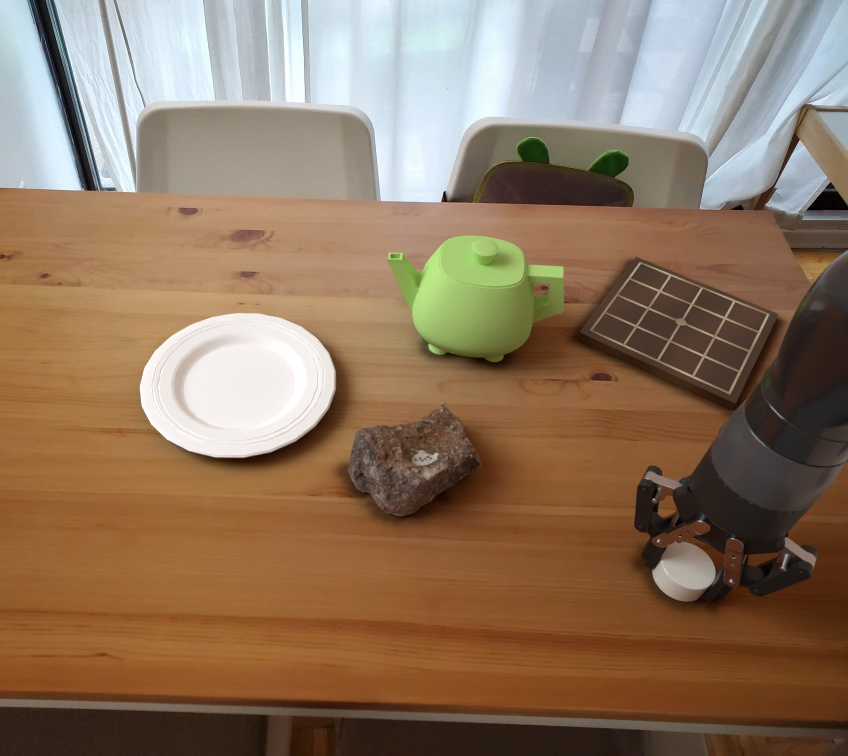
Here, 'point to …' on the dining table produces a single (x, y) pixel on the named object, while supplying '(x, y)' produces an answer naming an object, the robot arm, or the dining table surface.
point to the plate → (238, 385)
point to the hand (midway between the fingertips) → (680, 576)
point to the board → (680, 331)
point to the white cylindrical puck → (684, 572)
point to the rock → (412, 460)
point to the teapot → (477, 296)
